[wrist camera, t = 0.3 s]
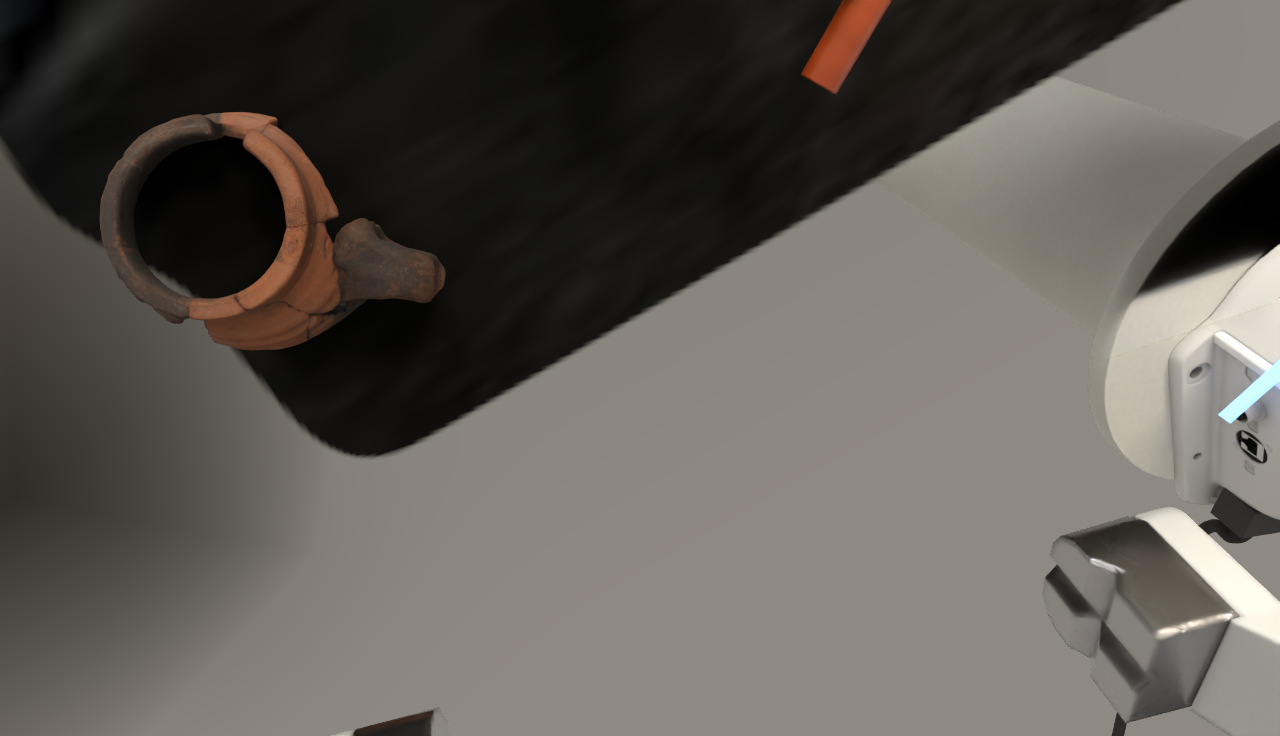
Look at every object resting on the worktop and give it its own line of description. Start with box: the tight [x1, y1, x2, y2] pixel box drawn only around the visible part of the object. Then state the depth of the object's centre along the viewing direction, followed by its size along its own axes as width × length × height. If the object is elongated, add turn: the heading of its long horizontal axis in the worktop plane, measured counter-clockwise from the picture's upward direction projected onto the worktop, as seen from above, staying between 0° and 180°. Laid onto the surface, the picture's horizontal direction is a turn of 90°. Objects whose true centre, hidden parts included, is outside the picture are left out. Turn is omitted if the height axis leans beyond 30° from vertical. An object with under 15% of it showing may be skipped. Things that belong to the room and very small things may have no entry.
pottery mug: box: [100, 112, 446, 350], centre depth 32 cm, size 12×10×8 cm
